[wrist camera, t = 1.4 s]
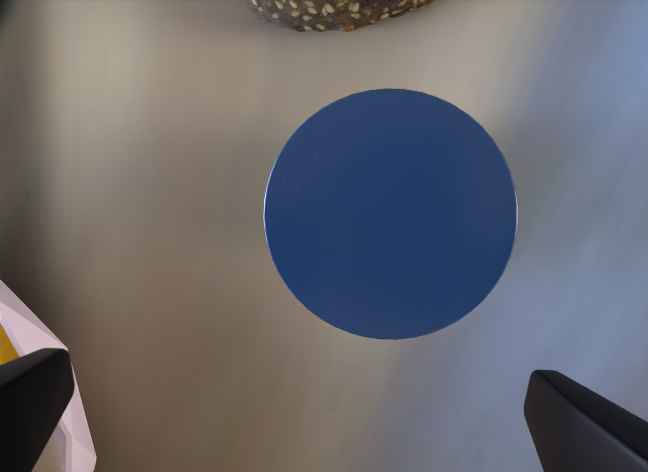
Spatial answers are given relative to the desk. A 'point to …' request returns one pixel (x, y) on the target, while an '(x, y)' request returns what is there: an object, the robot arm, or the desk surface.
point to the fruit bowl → (72, 430)
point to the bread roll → (329, 12)
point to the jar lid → (390, 214)
